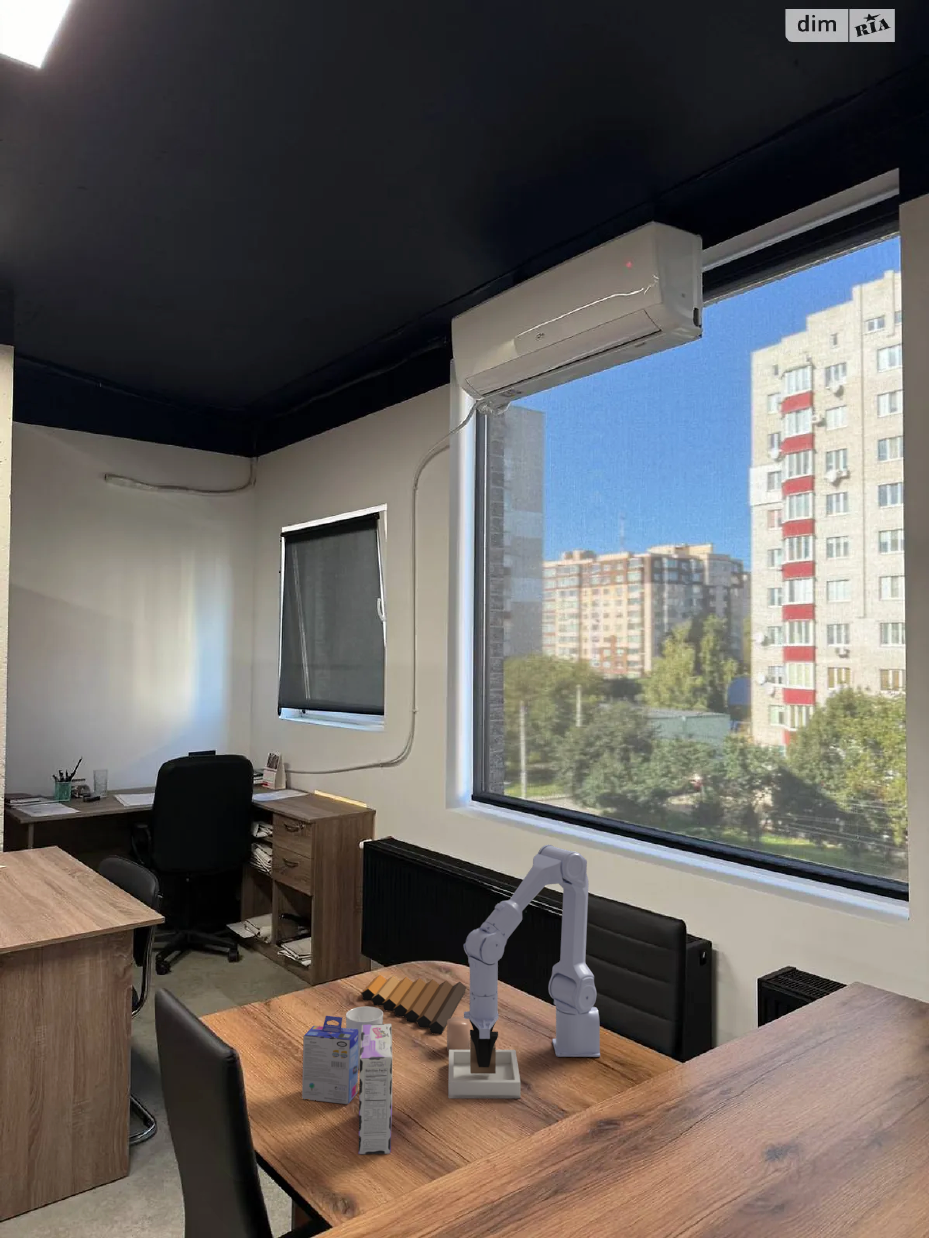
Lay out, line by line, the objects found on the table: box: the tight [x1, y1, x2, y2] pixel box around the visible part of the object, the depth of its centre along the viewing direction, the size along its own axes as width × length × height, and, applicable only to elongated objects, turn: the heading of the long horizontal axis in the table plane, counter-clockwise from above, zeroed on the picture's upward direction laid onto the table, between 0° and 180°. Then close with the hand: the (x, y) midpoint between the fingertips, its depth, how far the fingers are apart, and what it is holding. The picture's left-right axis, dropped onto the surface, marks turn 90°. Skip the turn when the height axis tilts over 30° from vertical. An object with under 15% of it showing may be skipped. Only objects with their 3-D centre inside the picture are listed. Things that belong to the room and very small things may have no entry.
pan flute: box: [361, 974, 467, 1035], centre depth 207 cm, size 25×3×25 cm
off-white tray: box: [447, 1049, 521, 1099], centre depth 171 cm, size 14×14×3 cm
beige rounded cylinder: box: [446, 1016, 471, 1053], centre depth 185 cm, size 5×5×6 cm
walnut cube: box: [470, 1037, 497, 1074], centre depth 171 cm, size 5×5×5 cm
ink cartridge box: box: [301, 1015, 359, 1105], centre depth 165 cm, size 10×6×14 cm, turn 78°
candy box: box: [357, 1023, 393, 1155], centre depth 152 cm, size 14×6×16 cm, turn 5°
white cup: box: [345, 1006, 384, 1070], centre depth 179 cm, size 8×8×10 cm
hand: (483, 1059), depth 171 cm, fingers closed on walnut cube, 5 cm apart
